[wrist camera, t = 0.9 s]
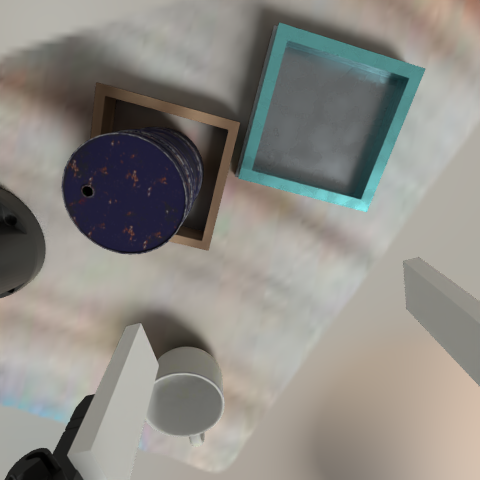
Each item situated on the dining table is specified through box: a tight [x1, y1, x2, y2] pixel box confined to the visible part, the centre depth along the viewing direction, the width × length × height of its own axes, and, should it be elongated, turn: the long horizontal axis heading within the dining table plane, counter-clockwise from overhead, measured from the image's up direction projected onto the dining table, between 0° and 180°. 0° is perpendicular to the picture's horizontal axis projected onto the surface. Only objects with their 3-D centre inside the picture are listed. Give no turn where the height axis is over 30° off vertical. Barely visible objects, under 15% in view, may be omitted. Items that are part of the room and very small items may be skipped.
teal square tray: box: [235, 23, 425, 212], centre depth 36 cm, size 16×16×4 cm
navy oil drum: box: [62, 127, 204, 254], centre depth 33 cm, size 10×10×15 cm
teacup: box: [145, 347, 224, 447], centre depth 47 cm, size 14×11×8 cm
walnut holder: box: [90, 82, 240, 250], centre depth 38 cm, size 15×15×4 cm
